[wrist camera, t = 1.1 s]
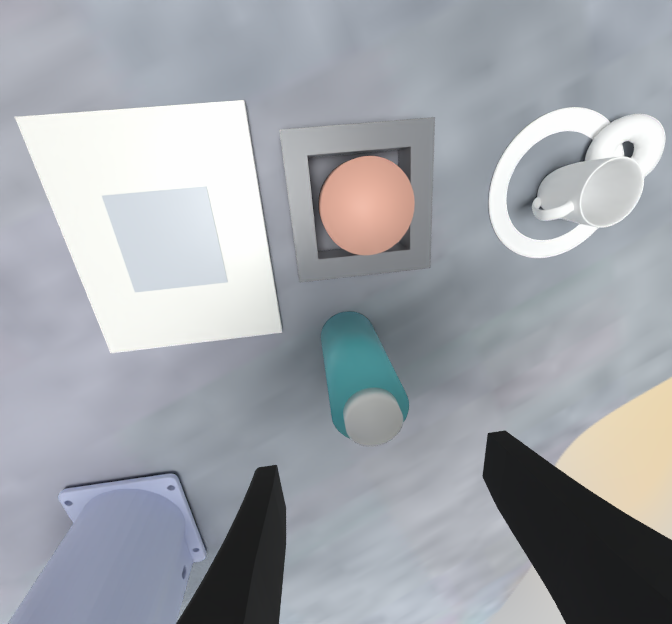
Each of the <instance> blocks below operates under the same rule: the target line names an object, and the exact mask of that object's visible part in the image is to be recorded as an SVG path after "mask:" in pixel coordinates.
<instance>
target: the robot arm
mask: <svg viewBox="0 0 672 624" xmlns="http://www.w3.org/2000/svg"><path fill="white" fill-rule="evenodd" d="M483 479H484V481H485V483H486V485H487V487H488V489H489V492H490V494H491V496H492V498H493V500H494V502H495V504H496V506H497V508H498V510H499V511H500V513H501V515H502V516H503V518H504V519H505V521H506V523H507V524H508V526H509V528H510V529H511V531H512V533H513V534H514V536H515V537H516V539H517V541H518V542H519V544H520V545H521V547H522V549H523V550H524V552H525V553H526V555H527V557H528V558H529V560H530V562H531V563H532V565H533V566H534V568H535V570H536V571H537V573H538V574H539V576H540V578H541V579H542V581H543V582H544V584H545V586H546V588H547V589H548V591H549V593H550V594H551V596H552V598H553V600H554V601H555V603H556V605H557V607H558V609H559V611H560V612H561V615H562V617H563V619H564V620H565V622H566V624H672V540H671V539H669V538H667V537H665V536H664V535H662V534H660V533H658V532H657V531H655V530H653V529H651V528H650V527H648V526H646V525H644V524H643V523H641V522H639V521H638V520H636V519H634V518H632V517H631V516H629V515H627V514H626V513H624V512H623V511H621V510H619V509H618V508H616V507H615V506H613V505H611V504H610V503H608V502H607V501H605V500H604V499H602V498H601V497H599V496H597V495H596V494H594V493H593V492H591V491H590V490H588V489H586V488H585V487H584V486H582V485H581V484H579V483H578V482H576V481H575V480H573V479H572V478H570V477H569V476H567V475H566V474H565V473H563V472H562V471H561V470H559V469H558V468H556V467H555V466H553V465H552V464H551V463H549V462H548V461H546V460H545V459H544V458H542V457H541V456H540V455H538V454H537V453H535V452H534V451H533V450H531V449H530V448H529V447H527V446H526V445H524V444H523V443H522V442H520V441H519V440H518V439H516V438H515V437H513V436H512V435H511V434H509V433H508V432H506V431H499V432H492V433H488V436H487V444H486V452H485V461H484V469H483ZM172 485H173V486H172ZM58 499H59V501H60V502H61V504H62V506H63V507H64V509H65V511H66V512H67V514H68V516H69V517H70V519H71V521H72V522H73V525H72V526H71V528H70V529H69V531H68V533H67V534H66V536H65V537H64V539H63V540H62V542H61V543H60V545H59V546H58V548H57V549H56V551H55V552H54V554H53V555H52V557H51V558H50V560H49V562H48V563H47V565H46V566H45V568H44V569H43V571H42V572H41V574H40V575H39V577H38V578H37V580H36V581H35V583H34V584H33V586H32V587H31V589H30V590H29V592H28V594H27V595H26V597H25V598H24V600H23V601H22V603H21V604H20V606H19V607H18V609H17V610H16V612H15V613H14V615H13V616H12V618H11V619H10V621H9V623H8V624H279V616H280V605H281V594H282V583H283V572H284V561H285V550H286V505H285V501H284V496H283V492H282V487H281V482H280V478H279V473H278V468H277V465H272V466H266V467H259V468H257V469H256V471H255V473H254V476H253V478H252V481H251V483H250V486H249V488H248V491H247V493H246V495H245V498H244V500H243V502H242V505H241V507H240V509H239V511H238V513H237V515H236V517H235V520H234V522H233V524H232V526H231V528H230V530H229V532H228V534H227V536H226V538H225V540H224V542H223V544H222V546H221V548H220V549H219V551H218V553H217V555H216V557H215V559H214V561H213V562H212V564H211V566H210V568H209V570H208V572H207V573H206V575H205V577H204V579H203V580H202V582H201V584H200V586H199V587H198V589H197V591H196V592H195V594H194V596H193V597H192V599H191V601H190V602H189V604H188V606H187V607H186V609H185V610H184V612H183V614H182V615H181V617H180V618H179V620H178V622H177V618H178V615H179V611H180V607H181V604H182V600H183V597H184V593H185V589H186V586H187V582H188V579H189V575H190V571H191V568H192V564H193V562H199V561H203V560H204V559H205V557H206V550H205V547H204V545H203V542H202V540H201V537H200V534H199V532H198V529H197V526H196V524H195V521H194V518H193V516H192V513H191V510H190V508H189V505H188V503H187V500H186V497H185V495H184V492H183V489H182V487H181V484H180V481H179V479H178V477H177V476H176V475H175V474H163V475H156V476H149V477H142V478H135V479H129V480H122V481H115V482H108V483H101V484H94V485H87V486H81V487H74V488H67V489H63V490H62V491H61V492H60V494H59V495H58ZM176 622H177V623H176Z"/></svg>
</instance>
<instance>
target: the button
mask: <svg viewBox="0 0 672 624" xmlns="http://www.w3.org/2000/svg"><path fill="white" fill-rule="evenodd" d="M414 206H415V201H414V193H413V189H412V186H411V183H410V181H409V179H408V177H407V176H406V174H405V173H404V172H403V171H402V169H401V168H399V167H398V166H397V165H396V164H394V163H393V162H391V161H389V160H387V159H385V158H382V157H377V156H363V157H358V158H355V159H352V160H349V161H347V162H345V163H343V164H341V165H339V166H338V167H336V168H335V169H334V170H333V171H332V172H331V173H330V174H329V175H328V177H327V178H326V180H325V182H324V184H323V186H322V188H321V191H320V195H319V214H320V218H321V221H322V223H323V225H324V227H325V229H326V231H327V233H328V234H329V236H330V237H331V239H332V240H333V241H334V242H335V243H336V244H337V245H338V246H340V247H341V248H342V249H344V250H346V251H348V252H350V253H353V254H357V255H374V254H378V253H381V252H384V251H386V250H388V249H389V248H391V247H393V246H394V245H395V244H396V243H398V242H399V241H400V240H401V238H402V237H403V236H404V235H405V233H406V232H407V230H408V228H409V226H410V224H411V221H412V218H413V214H414Z"/></svg>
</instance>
